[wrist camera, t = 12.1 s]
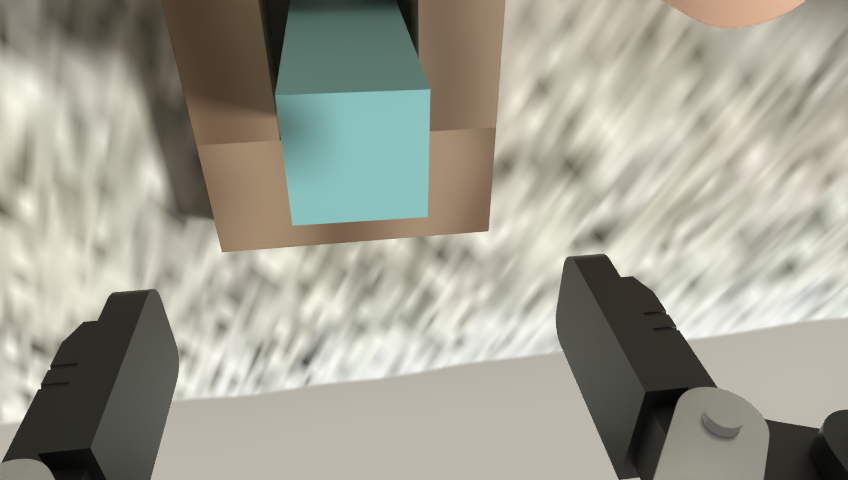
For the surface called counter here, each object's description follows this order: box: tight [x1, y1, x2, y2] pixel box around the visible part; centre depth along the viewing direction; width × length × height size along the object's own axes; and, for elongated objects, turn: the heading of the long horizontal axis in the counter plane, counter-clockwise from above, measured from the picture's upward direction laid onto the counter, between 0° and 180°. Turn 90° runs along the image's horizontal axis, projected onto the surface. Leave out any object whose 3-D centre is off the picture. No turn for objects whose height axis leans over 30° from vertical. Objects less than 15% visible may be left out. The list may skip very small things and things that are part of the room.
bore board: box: [162, 0, 505, 252], centre depth 24 cm, size 12×16×2 cm
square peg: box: [275, 0, 430, 226], centre depth 21 cm, size 4×4×10 cm
